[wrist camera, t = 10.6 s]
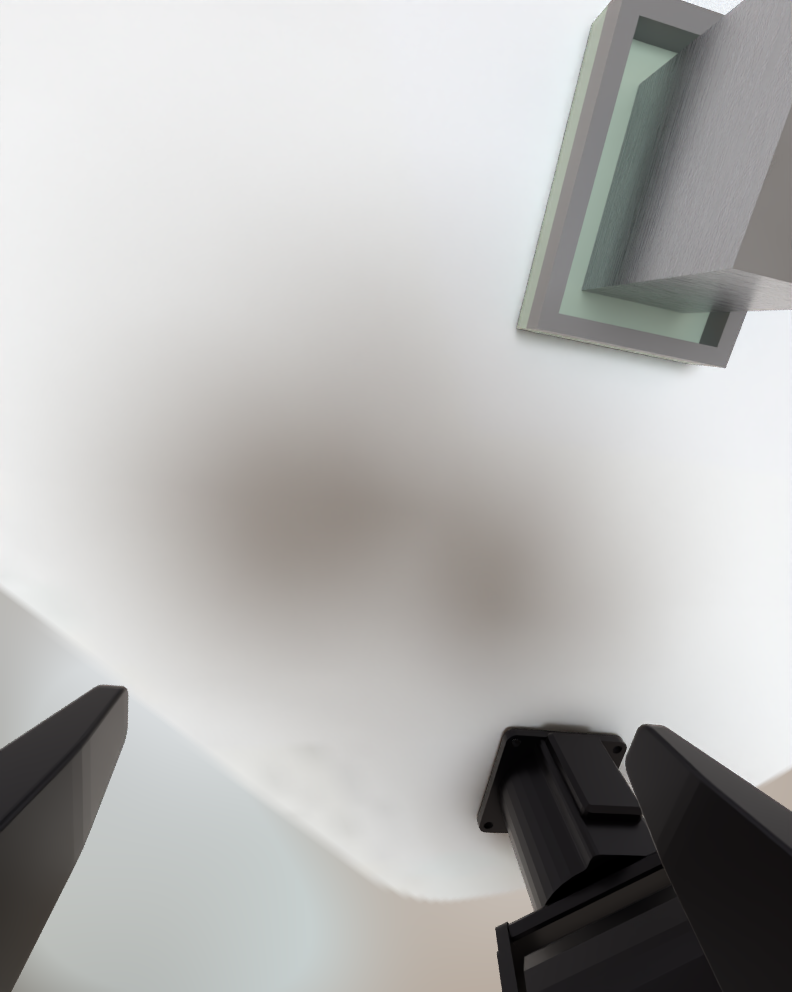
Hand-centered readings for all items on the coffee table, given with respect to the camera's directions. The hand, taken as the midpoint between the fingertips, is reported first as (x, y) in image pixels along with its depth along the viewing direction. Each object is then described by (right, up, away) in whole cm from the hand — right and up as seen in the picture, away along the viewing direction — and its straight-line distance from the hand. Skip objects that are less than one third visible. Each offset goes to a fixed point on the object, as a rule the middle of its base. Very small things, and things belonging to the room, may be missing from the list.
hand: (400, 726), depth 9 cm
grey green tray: (+9, +14, +9) cm, 19 cm away
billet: (+9, +14, +8) cm, 18 cm away
